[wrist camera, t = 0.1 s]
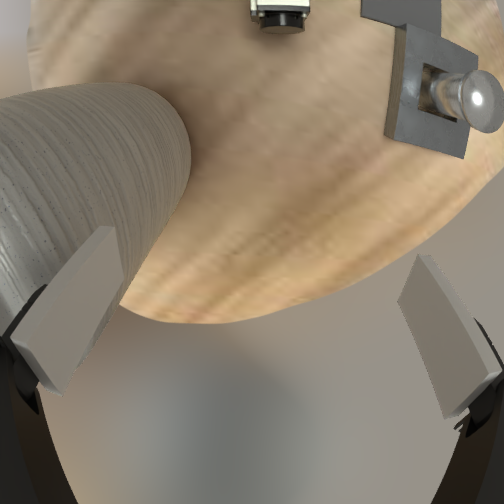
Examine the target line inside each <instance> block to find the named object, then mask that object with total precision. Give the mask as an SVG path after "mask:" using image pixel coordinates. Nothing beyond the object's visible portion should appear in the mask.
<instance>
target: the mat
mask: <svg viewBox="0 0 504 504" xmlns="http://www.w3.org/2000/svg"><path fill="white" fill-rule="evenodd" d="M361 17H364V18H368V19H371V20H375V21H378V22H382V23H385V24H388V25H391V26H394V27H397V26H400V25H403V24H406V23H408V24H411V25H413V26H416V27H418V28H421V29H423V30H426V31H428V32H431V33H433V34H435V35H437V36H440V37H441V0H361Z"/></svg>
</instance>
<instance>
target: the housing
mask: <svg viewBox="0 0 504 504" xmlns="http://www.w3.org/2000/svg"><path fill="white" fill-rule="evenodd" d="M423 67H424V68H427V69H430V70H432V71H435V72H437V73H456V74H466V73H467V72H469V71H471V70H478V56H477V55H476V54H474V53H472V52H470V51H468V50H466V49H464V48H463V47H461V46H459V45H457V44H455V43H453V42H450V41H448V40H446V39H444V38H442V37H440V36H437V35H435V34H433V33H431V32H428V31H426V30H423V29H421V28H418V27H416V26H413V25H411V24H408V23H406V24H403V25H400V26H397V27H396V30H395V46H394V59H393V69H392V79H391V87H390V95H389V103H388V110H387V117H386V123H385V129H384V135H385V136H387V137H389V138H391V139H393V140H397V141H401V142H405V143H409V144H413V145H417V146H421V147H424V148H428V149H431V150H435V151H438V152H442V153H445V154H448V155H451V156H454V157H458V158H461V159H464V155H465V151H466V146H467V141H468V136H469V131H470V125H469V124H468V123H467V121H465V120H462V119H458V118H455V117H452V116H448V115H445V114H444V118H441V117H439V116H436V115H433V114H430V113H427V112H424V111H421V110H418V104H419V97H420V89H421V81H422V71H423Z"/></svg>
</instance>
